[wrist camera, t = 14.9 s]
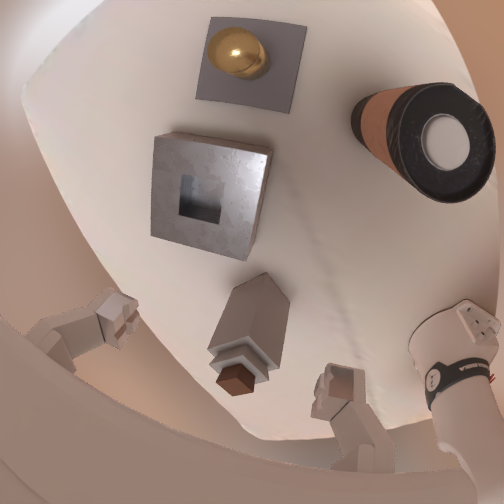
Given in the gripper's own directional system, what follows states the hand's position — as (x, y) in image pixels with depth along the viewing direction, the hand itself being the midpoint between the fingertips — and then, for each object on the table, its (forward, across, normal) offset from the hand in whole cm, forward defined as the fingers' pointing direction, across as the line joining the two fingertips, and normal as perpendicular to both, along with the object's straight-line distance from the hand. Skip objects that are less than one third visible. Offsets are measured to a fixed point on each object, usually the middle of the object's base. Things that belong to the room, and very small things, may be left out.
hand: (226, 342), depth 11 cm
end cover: (+27, +9, -13) cm, 31 cm away
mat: (+28, +9, -14) cm, 32 cm away
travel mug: (+29, -8, -10) cm, 31 cm away
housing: (+28, +11, +4) cm, 30 cm away
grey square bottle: (+28, +1, +20) cm, 35 cm away
